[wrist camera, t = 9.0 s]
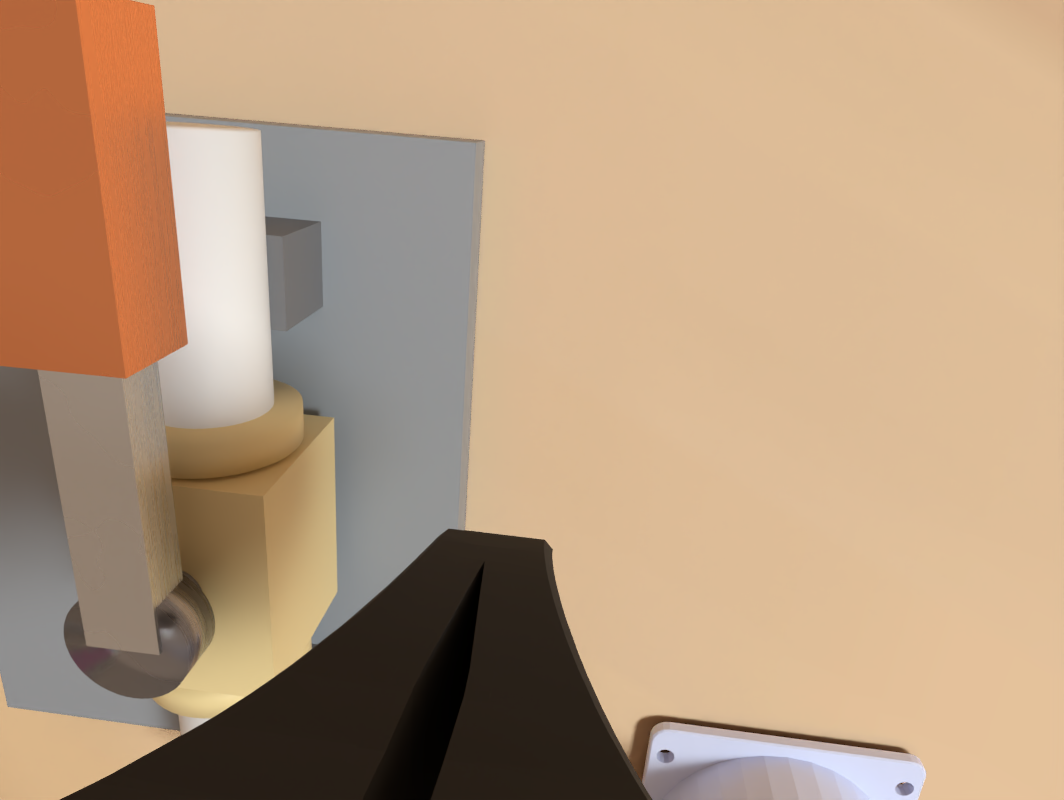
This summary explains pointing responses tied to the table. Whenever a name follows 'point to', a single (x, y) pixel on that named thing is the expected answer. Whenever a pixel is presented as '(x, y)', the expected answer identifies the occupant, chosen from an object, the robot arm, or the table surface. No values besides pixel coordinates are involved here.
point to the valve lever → (99, 320)
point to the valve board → (276, 405)
